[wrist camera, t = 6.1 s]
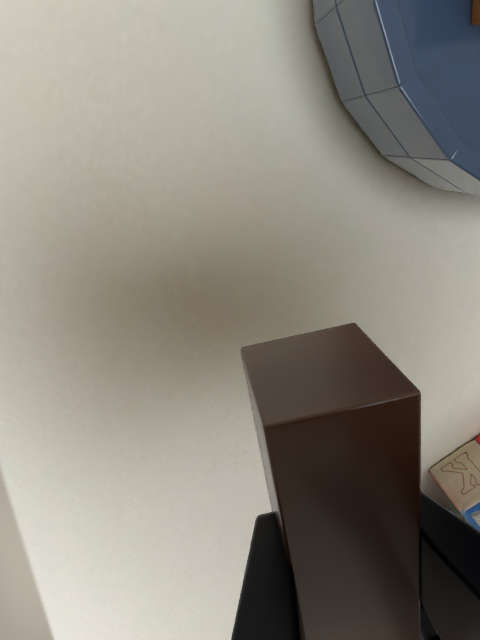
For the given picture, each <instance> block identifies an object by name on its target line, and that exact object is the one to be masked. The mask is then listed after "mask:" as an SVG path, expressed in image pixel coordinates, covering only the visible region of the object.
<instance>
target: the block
mask: <svg viewBox="0 0 480 640" xmlns="http://www.w3.org/2000/svg"><path fill="white" fill-rule="evenodd" d="M471 24H472V25H480V0H473V1H472V19H471Z"/></svg>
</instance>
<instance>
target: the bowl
mask: <svg viewBox="0 0 480 640" xmlns="http://www.w3.org/2000/svg"><path fill="white" fill-rule="evenodd" d="M472 1H473V0H313V8H314V22H315V24H316V26H315V28H316V31H317V34H318V37H319V40H320V43H321V45H322V48H323V51H324V54H325V57H326V60H327V63H328V65H329V68H330V71H331V74H332V77H333V80H334V83H335V86H336V88H337V91H338V94H339V97H340V100H341V101H342V103H343V105H344V106H345V107H346V109H347V110H348V111H349V113H350V114H351V115H352V117H353V118H354V119H355V121H356V122H357V123H358V125H359V126H360V127H361V129H362V130H363V131H364V132H365V134H366V135H367V136H368V138H369V139H370V140H371V142H372V143H373V144H374V146H375V147H376V148H377V150H378V151H379V152H380V153H381V155H383V157H385V158H386V159H388V160H389V161H391V162H393V163H394V164H396V165H397V166H399V167H401V168H402V169H404V170H405V171H407V172H409V173H410V174H412V175H413V176H415V177H417V178H418V179H420V180H422V181H423V182H425V183H426V184H428V185H430V186H431V187H435V188H439V189H444V190H450V191H456V192H461V193H467V194H473V195H478V196H480V25H472V24H471V19H472Z"/></svg>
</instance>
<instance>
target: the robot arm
mask: <svg viewBox="0 0 480 640" xmlns="http://www.w3.org/2000/svg"><path fill="white" fill-rule="evenodd" d="M231 640H306V637H305V631H304V626H303V621H302V615H301V610H300V604H299V599H298V593H297V588H296V582H295V577H294V572H293V567H292V565H291V564H289V562H288V560H287V556H286V553H285V549H284V545H283V541H282V538H281V534H280V530H279V526H278V523H277V519H276V515H275V512H270V513H266V514H261V515H259V516H257V518H256V521H255V526H254V531H253V536H252V541H251V546H250V550H249V555H248V560H247V565H246V570H245V575H244V580H243V585H242V590H241V594H240V599H239V604H238V609H237V614H236V619H235V624H234V629H233V633H232V638H231ZM420 640H480V531H479V530H477V529H476V528H474V527H473V526H471V525H470V524H468V523H467V522H466V521H464V520H463V519H461V518H460V517H458V516H457V515H455V514H454V513H452V512H451V511H450V510H449V509H447V508H445V507H444V506H442V505H441V504H439V503H438V502H437V501H435V500H434V499H432V498H431V497H429V496H428V495H426V494H425V493H423V492H422V491H421V490H420Z"/></svg>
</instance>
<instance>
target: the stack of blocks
mask: <svg viewBox="0 0 480 640" xmlns="http://www.w3.org/2000/svg"><path fill="white" fill-rule="evenodd" d="M430 473H431V475H432V476H433V477H434V479H435V480H436V481H437V483H438V484H439V485H440V487H441V488H442V489H443V491H444V492H445V493H446V495H447V496H448V498H449V499H450V500H451V502H452V503H453V504H454V506H455V507H456V508H457V509H458V511H459V512H460V513H461V514H462V515H463V517H464V518H465V520H466V521H467V523H468V524H470V525H471V526H473V527H474V528H476V529H477V530H479V531H480V435H479V436H478V437H477V438H476V439H475V440H473V441H471V442H469V443H467V444H466V445H464V446H462V447H461V448H460V449H458V450H457V451H455V452H454V453H452V454H451V455H450V456H448V457H447V458H445V459H444V460H442V461H441V462H439V463H438V464H436V465H435V466H434V467H432V468H431V469H430Z"/></svg>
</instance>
